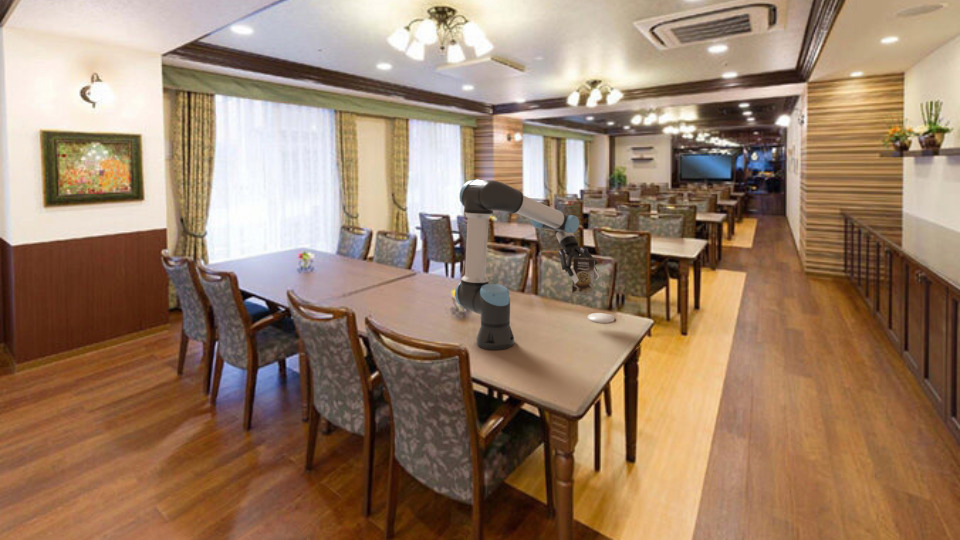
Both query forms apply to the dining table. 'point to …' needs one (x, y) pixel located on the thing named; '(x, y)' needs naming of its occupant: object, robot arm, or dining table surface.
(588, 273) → the coffee box
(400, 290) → the dining table surface
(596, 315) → the plate
